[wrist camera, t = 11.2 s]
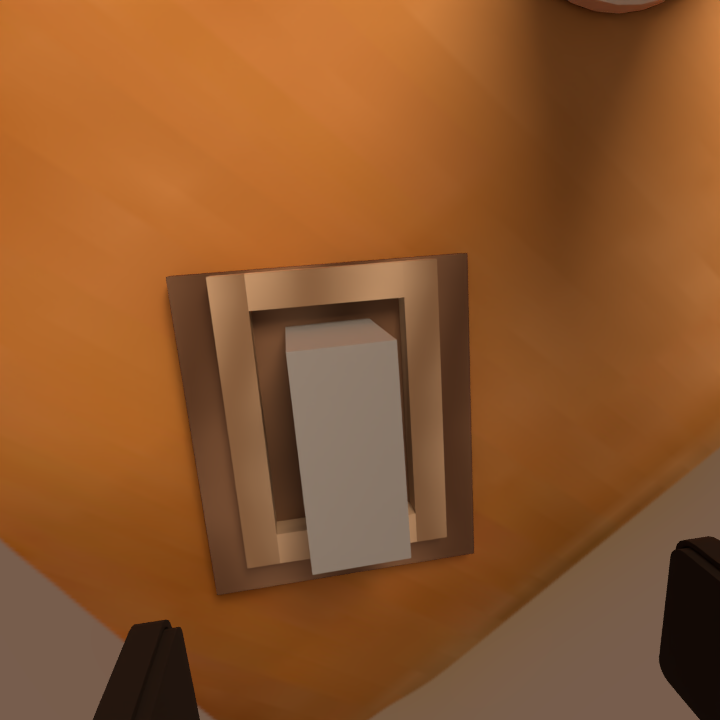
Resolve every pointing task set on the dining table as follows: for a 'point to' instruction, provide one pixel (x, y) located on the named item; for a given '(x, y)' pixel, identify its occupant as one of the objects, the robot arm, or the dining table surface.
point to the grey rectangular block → (349, 443)
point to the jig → (275, 413)
